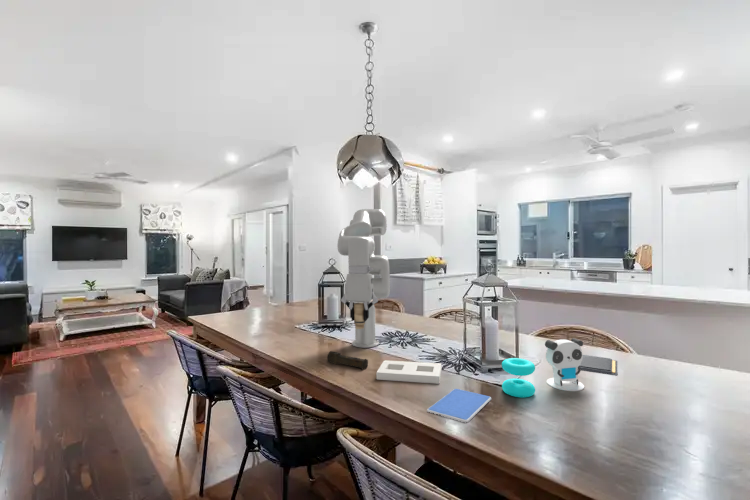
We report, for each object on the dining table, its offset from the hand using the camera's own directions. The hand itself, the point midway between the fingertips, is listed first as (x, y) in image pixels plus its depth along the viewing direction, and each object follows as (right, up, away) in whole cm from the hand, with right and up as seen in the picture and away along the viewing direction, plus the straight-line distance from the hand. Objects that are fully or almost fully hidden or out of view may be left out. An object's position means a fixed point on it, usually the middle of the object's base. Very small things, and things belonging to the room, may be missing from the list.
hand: (359, 319), depth 140 cm
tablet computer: (+31, -21, -27) cm, 46 cm away
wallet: (+91, -20, +7) cm, 93 cm away
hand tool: (-6, -20, +11) cm, 24 cm away
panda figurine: (+69, -20, -12) cm, 73 cm away
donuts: (+51, -20, -19) cm, 58 cm away
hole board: (+18, -20, -1) cm, 27 cm away
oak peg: (0, -3, 0) cm, 3 cm away
